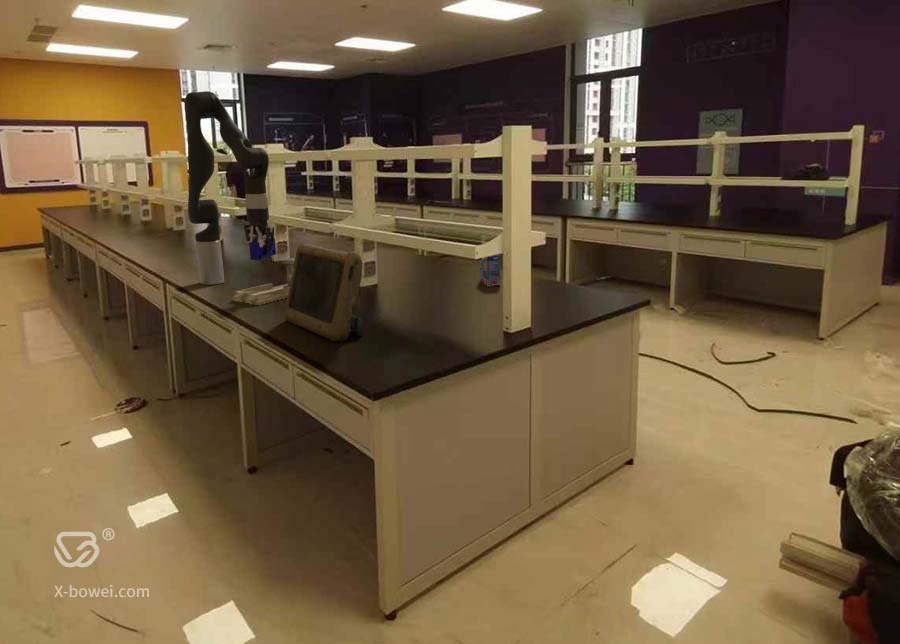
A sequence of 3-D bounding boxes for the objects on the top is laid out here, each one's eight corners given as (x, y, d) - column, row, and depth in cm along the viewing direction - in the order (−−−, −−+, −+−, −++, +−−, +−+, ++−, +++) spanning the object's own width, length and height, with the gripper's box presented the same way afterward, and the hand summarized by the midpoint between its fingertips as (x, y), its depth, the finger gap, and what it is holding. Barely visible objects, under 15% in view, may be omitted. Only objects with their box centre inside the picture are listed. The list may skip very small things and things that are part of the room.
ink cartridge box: (478, 282, 260) (478, 246, 256) (491, 281, 261) (491, 245, 257) (487, 287, 251) (487, 249, 247) (500, 285, 252) (501, 249, 248)
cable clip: (265, 253, 238) (263, 237, 236) (276, 254, 237) (274, 238, 235) (246, 259, 227) (245, 242, 225) (258, 260, 226) (256, 243, 224)
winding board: (233, 300, 233) (229, 267, 229) (291, 286, 254) (288, 256, 250) (258, 305, 225) (255, 271, 222) (315, 291, 246) (313, 259, 243)
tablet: (275, 323, 203) (268, 244, 197) (313, 314, 213) (307, 239, 206) (336, 344, 181) (330, 256, 174) (375, 334, 191) (371, 250, 184)
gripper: (235, 206, 228) (239, 253, 232) (261, 208, 220) (265, 257, 224) (252, 204, 234) (256, 250, 238) (279, 206, 226) (282, 254, 230)
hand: (261, 254), depth 231 cm, fingers closed on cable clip, 5 cm apart
